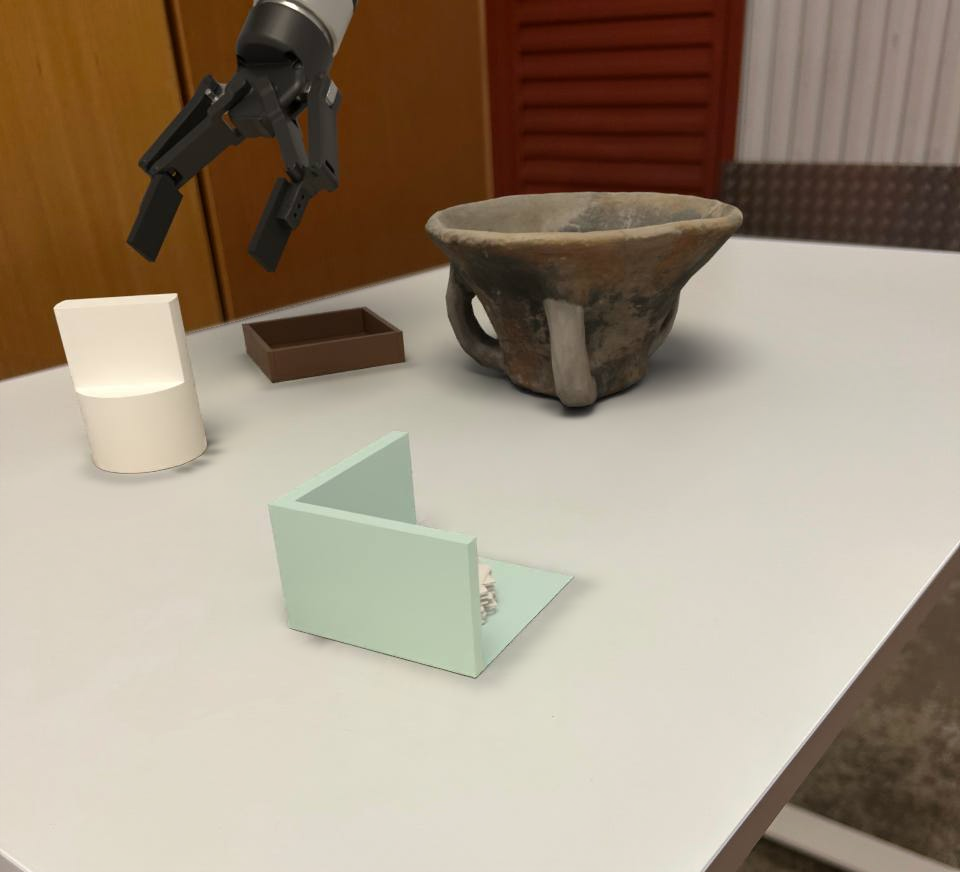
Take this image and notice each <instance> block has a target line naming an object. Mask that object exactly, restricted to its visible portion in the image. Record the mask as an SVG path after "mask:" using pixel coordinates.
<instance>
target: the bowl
mask: <svg viewBox="0 0 960 872" xmlns="http://www.w3.org/2000/svg"><path fill="white" fill-rule="evenodd" d="M743 215H744V214H743V212H742V211H741V209H739V208H738V207H737V206H734V205H732V204H729V203H726V202H722V201H720V200H718V199H710V198H704V197H701V196H697V195H688V194H687V195H685V194H679V193H663V192H654V191H647V192H646V191H632V192H631V191H630V192H627V191H618V192H616V191H615V192H611V191H601V192H600V191H599V192H598V191H579V192H578V191H574V192H549V193H547V192H546V193H529V194H514V195H513V194H512V195H506V196H500V197H496V198H490V199H485V200H479V201H475V202H469V203H462V204H458V205H454V206H451V207H450V206H449V207H447V208H445V209H442V210H438V211H436V212H435V213H433V214H432V215H431V216H430V217H429V218H428V220H427V222H426V224H425V225H424V230H425V233H426V235H427V236H428V237H429V238H430V240H431V241H432V242H433V244H435V246H436V247H437V248H438V249H439V250H440V251H441V252H442V254H443V255H445V257H446V258H447V259H448V260H449V261H450V262H449V274H448V281H447V287H446V293H445V305H446V314H447V319H448V321H449V323H450V327H451V328H452V331H453V334H454V336H455V338H456V340H457V342H458V343H459V345H460V347H461V348H462V350H463V351H464V353H465V354H466V355H468V356H469V357H470V358H472V359H473V360H474V361H475V362H477V363H478V364H479V365H480V366H482V367H485V368H488V369H491V370H493V371H497V372H499V373H502V374H503V373H504V374H506V375H507V377H508V378H509V379H510V381H511V382H512V383H513V384H515V385H517V386H519V387H520V388H523V389H524V390H527V391H531V392H533V393H536V394H541V395H545V396H550V397H554V398H558V399H559V401H560V402H561V403H562V405H565V406H567V407H572V408H573V407H587V406H591V405H592V404H594V403H595V402H596V400H599V399H601V398H604V397H606V396H610V395H612V394H615V393H618V392H620V391H624V390H627V389H628V388H630V387H631V386H632V385H633V384H636V383H638V382H639V381H640V380H641V379H642V378H643V377H644V376H645V375H647V373H648V371H649V367H648V359H650V358H651V357H652V356H653V355H654V353H656V351H657V350H658V349H659V348H660V347H661V346H662V345H663V344H664V342H665V341H666V340H667V338H668V337H669V334H670V333H671V331H672V329H673V326H674V323H675V320H676V317H677V314H678V311H679V305H680V298H681V293H682V292H681V291H682V290H683V289H684V287H685V286H686V285H687V284H688V282H689V281H690V280H691V279H692V278H693V276H695V274H697V273H698V272H699V271H700V270H701V269H703V268H704V267H705V266H706V264H708V263H709V262H710V261H711V260H712V259H713V257H714V256H715V255H716V254H717V253H718V252H719V250H721V248H722V247H723V246H724V245H725V244H726V243H727V242H728V241H729V240H730V238H731V237H732V236H733V235H734V234H735V233H736V232H737V230H739V228H740V227H741V226H742V225H743V221H744V217H743ZM475 297H477V299H478V301H479V303H480V304H481V306H482V307H483V310H484V313H485V314H486V316H487V318H488V320H489V323H490V324H491V326H492V329H493V330H494V332H495V335H496V337H497V338H495V337H493V336H491V335H489V334H488V333H486V330H484V329H483V327H482V325H481V324H480V322H479V321H478V319H477V317H476V315H475V312H474V311H475V310H474V306H473V303H472V302H473V299H474V298H475Z"/></svg>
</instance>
